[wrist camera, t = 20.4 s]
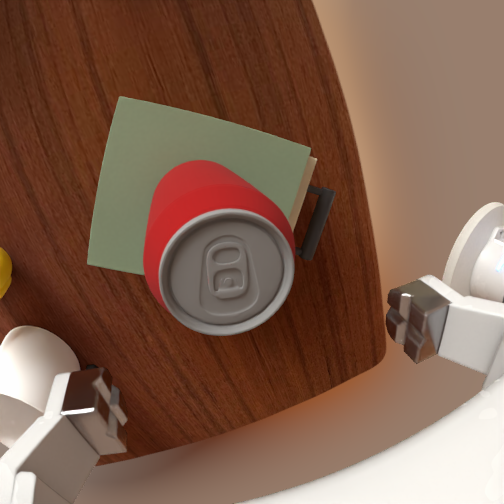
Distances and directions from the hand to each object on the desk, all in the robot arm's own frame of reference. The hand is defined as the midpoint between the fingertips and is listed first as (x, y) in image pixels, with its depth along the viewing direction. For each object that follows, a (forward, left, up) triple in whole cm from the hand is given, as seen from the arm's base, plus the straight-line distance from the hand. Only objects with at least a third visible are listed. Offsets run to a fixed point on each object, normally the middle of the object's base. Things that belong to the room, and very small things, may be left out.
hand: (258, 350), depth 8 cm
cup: (+25, +17, -26) cm, 40 cm away
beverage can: (0, 0, -17) cm, 17 cm away
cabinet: (0, 0, -26) cm, 26 cm away
